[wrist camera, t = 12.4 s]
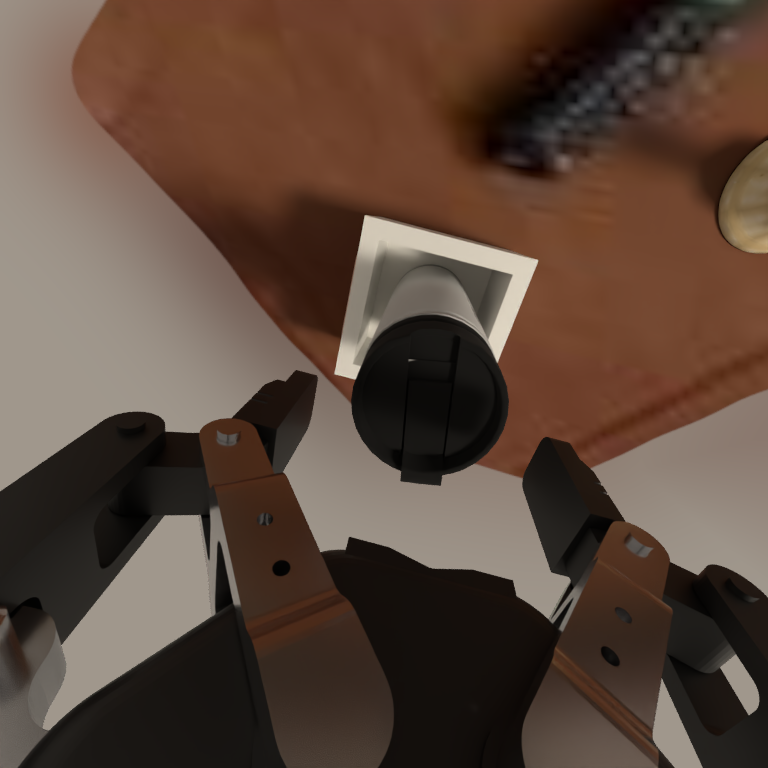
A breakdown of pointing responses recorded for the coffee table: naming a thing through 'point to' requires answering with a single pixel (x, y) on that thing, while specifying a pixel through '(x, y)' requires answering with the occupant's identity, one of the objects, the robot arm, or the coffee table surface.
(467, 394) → the travel mug
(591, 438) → the coffee table surface
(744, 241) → the hand bell
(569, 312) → the coffee table surface
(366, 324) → the socket
